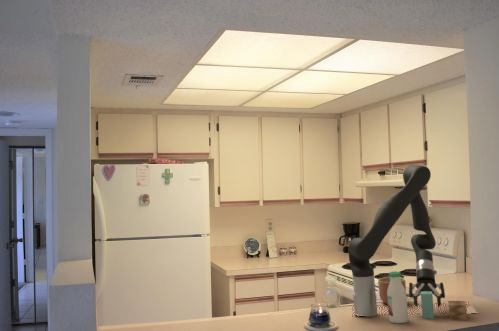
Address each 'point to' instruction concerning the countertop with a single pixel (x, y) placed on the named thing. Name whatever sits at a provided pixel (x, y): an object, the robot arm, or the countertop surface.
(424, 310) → the teal brick
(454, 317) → the tower base
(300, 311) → the countertop surface
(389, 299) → the milk bottle
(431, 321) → the countertop surface
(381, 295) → the planter
